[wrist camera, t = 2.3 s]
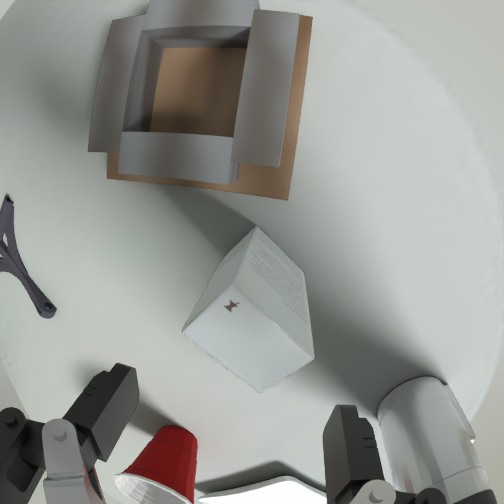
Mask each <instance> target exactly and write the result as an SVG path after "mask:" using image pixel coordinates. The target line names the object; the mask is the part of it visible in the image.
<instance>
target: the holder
mask: <svg viewBox="0 0 504 504" xmlns="http://www.w3.org/2000/svg"><path fill="white" fill-rule="evenodd" d="M312 19H313V17H310V16H303V15H299V14H296V13H288V12H279V11H268V10H260V6H259V1H258V0H150V2H149V5H148V8H147V12H146V14H145V15H139V16H133V17H127V18H122V19H117V20H113V21H112V25H111V28H110V31H109V35H108V39H107V42H106V46H105V50H104V54H103V59H102V63H101V67H100V72H99V77H98V82H97V87H96V93H95V99H94V105H93V112H92V119H91V127H90V135H89V145H88V152H109V156H108V169H107V179H117V180H130V181H141V182H151V183H161V184H171V185H180V186H189V187H197V188H205V189H213V190H221V191H228V192H235V193H242V194H249V195H256V196H262V197H269V198H275V199H281V200H287V201H288V195H289V189H290V182H291V176H292V170H293V163H294V156H295V150H296V143H297V136H298V129H299V122H300V115H301V108H302V100H303V93H304V85H305V77H306V70H307V62H308V53H309V45H310V36H311V28H312Z"/></svg>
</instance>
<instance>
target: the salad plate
mask: <svg viewBox="0 0 504 504" xmlns="http://www.w3.org/2000/svg"><path fill="white" fill-rule="evenodd" d="M198 500H199V501H200V502H202V503H204V504H327V498H326V493H324V492H322V491H320V490H318V489H315V488H313V487H311V486H309V485H307V484H305V483H303V482H302V481H300V480H298V479H296V478H294V477H291V476H281V477H277V478H274V479H270V480H267V481H263V482H259V483H256V484H252V485H248V486H244V487H239V488H235V489H230V490H225V491H219V492H213V493H209V494H206V495H203V496H201V497H200V498H198Z"/></svg>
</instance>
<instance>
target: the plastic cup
mask: <svg viewBox="0 0 504 504" xmlns="http://www.w3.org/2000/svg"><path fill="white" fill-rule="evenodd" d="M197 449H198V446H197V439H196V438H195V436H194V435H193V434H191V433H190V432H188V431H187V430H185V429H182V428H180V427H176V426H164V427H162V428H161V429H160V430H159V431H158V432H157V433H156V435H155V436H154V438H153V439H152V440H151V441H150V442H149V443H148V444H147V446H146V447H145V448H144V449H143V451H142V452H141V453H140V455H139V456H138V457H137V458H136V460H135V461H134V462H133V463H132V465H130V466H129V467H128V468H127V469H125V470H124V471H123V472H122V473H120V474H116V475H115V477H114V479H113V482H114V483H115V485H116V487H117V488H118V489H119V490H120V491H121V492H122V493H123V494H124V495H125V496H126V497H127V498H129V499H130V500H132V501H133V502H135V503H136V504H194V485H195V475H196V465H197V460H196V458H197Z"/></svg>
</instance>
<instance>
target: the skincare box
mask: <svg viewBox="0 0 504 504" xmlns="http://www.w3.org/2000/svg"><path fill="white" fill-rule="evenodd" d="M182 333H183V334H184V335H185V336H186V337H188V338H189V339H190V340H191V341H192V342H194V343H195V344H196V345H197V346H199V347H200V348H201V349H202V350H203V351H205V352H206V353H207V354H208V355H210V356H211V357H212V358H213V359H215V360H216V361H217V362H219V363H220V364H221V365H222V366H224V367H225V368H226V369H228V370H229V371H230V372H232V373H233V374H234V375H236V376H237V377H238V378H240V379H241V380H242V381H244V382H245V383H246V384H248V385H249V386H251V387H252V388H253V389H255V390H256V391H257V392H259V393H262V392H264V391H265V390H267V389H269V388H270V387H272V386H273V385H275V384H276V383H278V382H280V381H281V380H283V379H285V378H286V377H288V376H289V375H291V374H292V373H294V372H296V371H297V370H299V369H300V368H302V367H303V366H305V365H306V364H308V363H309V362H311V361H312V360H314V358H315V356H314V347H313V338H312V330H311V322H310V313H309V305H308V298H307V291H306V284H305V276H304V272H303V271H302V270H301V269H300V268H299V267H298V266H297V265H296V264H295V263H294V262H293V261H292V260H291V259H290V258H289V257H288V256H287V255H286V254H285V253H284V252H283V251H282V250H281V249H280V248H279V247H278V246H277V245H276V244H275V243H274V242H273V241H272V240H271V239H270V238H269V237H268V236H267V235H266V234H265V233H264V232H263V231H262V230H261V229H260V228H259V227H258V226H255V227H254V228H253V229H252V230H251V231H250V232H249V233H248V234H247V235H246V236H245V237H244V238H243V239H242V240H241V241H240V242H239V243H238V244H237V245H236V246H235V247H234V248H233V249H232V250H231V251H230V252H229V253H228V254H227V255H226V256H225V257H224V258H223V260H222V262H221V263H220V265H219V266H218V268H217V270H216V271H215V273H214V275H213V277H212V278H211V280H210V282H209V283H208V285H207V287H206V289H205V290H204V292H203V294H202V296H201V297H200V299H199V301H198V302H197V304H196V306H195V307H194V309H193V311H192V313H191V315H190V316H189V318H188V320H187V321H186V323H185V325H184V327H183V329H182Z"/></svg>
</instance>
